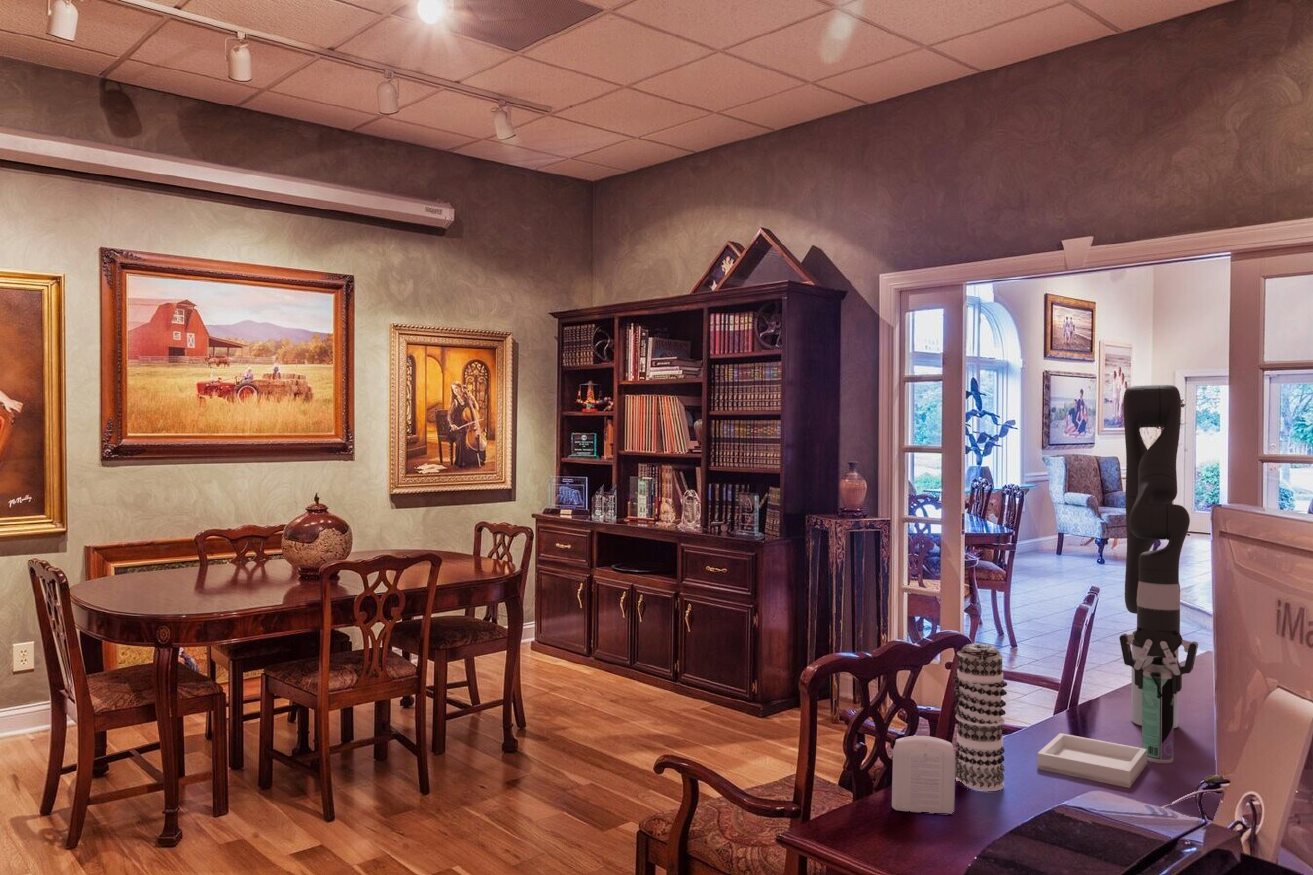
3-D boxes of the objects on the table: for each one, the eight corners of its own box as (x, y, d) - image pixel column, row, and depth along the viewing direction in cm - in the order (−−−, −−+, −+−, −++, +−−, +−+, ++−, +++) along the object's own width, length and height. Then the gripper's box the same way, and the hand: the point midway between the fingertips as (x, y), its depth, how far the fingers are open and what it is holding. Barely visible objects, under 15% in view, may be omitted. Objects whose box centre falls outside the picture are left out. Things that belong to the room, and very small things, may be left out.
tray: (1060, 747, 193) (1060, 733, 193) (1146, 764, 184) (1147, 748, 184) (1037, 768, 181) (1037, 752, 181) (1129, 787, 171) (1129, 771, 171)
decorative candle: (980, 796, 166) (981, 653, 166) (942, 779, 174) (943, 643, 175) (1017, 788, 170) (1018, 648, 171) (978, 771, 179) (979, 639, 179)
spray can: (1177, 764, 184) (1178, 661, 184) (1146, 762, 185) (1147, 659, 185) (1167, 755, 189) (1168, 654, 189) (1138, 753, 190) (1139, 653, 190)
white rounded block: (952, 807, 161) (953, 734, 161) (956, 817, 157) (957, 742, 157) (890, 803, 163) (891, 731, 163) (893, 812, 159) (893, 738, 159)
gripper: (1202, 606, 186) (1202, 692, 186) (1122, 598, 195) (1122, 681, 195) (1196, 611, 180) (1196, 701, 180) (1114, 603, 189) (1113, 688, 189)
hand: (1157, 690), depth 187 cm, fingers closed on spray can, 5 cm apart
